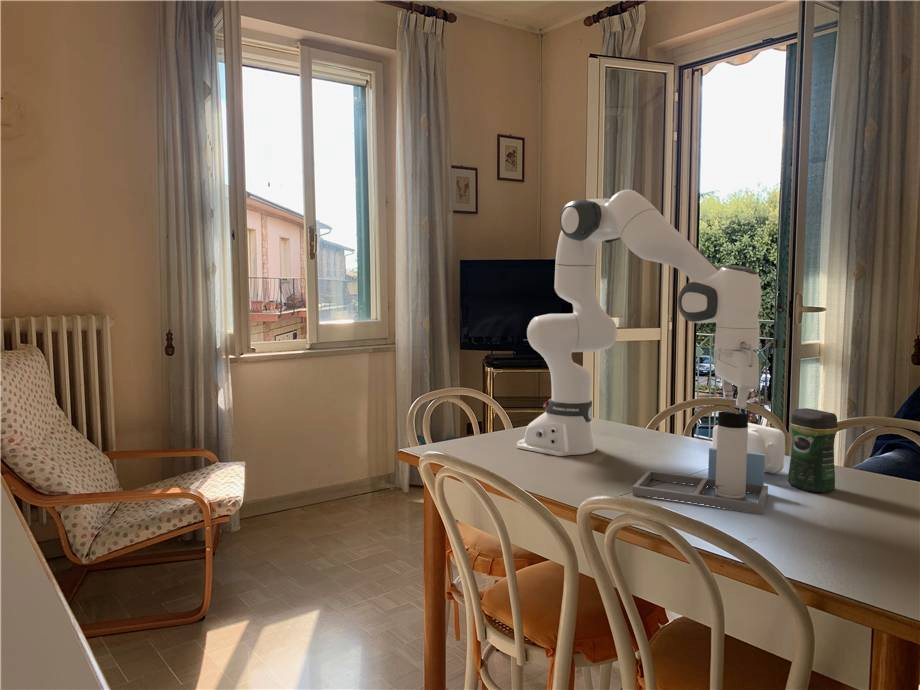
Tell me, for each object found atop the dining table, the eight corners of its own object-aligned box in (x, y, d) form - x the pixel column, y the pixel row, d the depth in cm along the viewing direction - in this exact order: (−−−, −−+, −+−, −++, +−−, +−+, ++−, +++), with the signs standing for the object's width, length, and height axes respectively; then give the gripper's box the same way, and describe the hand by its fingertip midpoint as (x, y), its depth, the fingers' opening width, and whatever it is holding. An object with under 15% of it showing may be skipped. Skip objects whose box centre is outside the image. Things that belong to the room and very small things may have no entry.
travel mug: (712, 501, 152) (715, 411, 150) (717, 492, 158) (720, 406, 156) (742, 505, 149) (746, 414, 147) (747, 497, 155) (750, 409, 153)
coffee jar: (841, 491, 159) (845, 412, 158) (817, 495, 156) (821, 414, 154) (805, 480, 168) (808, 404, 166) (781, 484, 165) (785, 407, 163)
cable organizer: (708, 466, 180) (709, 422, 179) (736, 461, 185) (737, 418, 184) (756, 481, 167) (758, 434, 166) (785, 475, 172) (787, 429, 171)
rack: (632, 495, 157) (633, 456, 156) (649, 476, 171) (650, 441, 170) (761, 514, 144) (763, 472, 143) (768, 493, 158) (769, 454, 157)
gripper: (768, 345, 140) (765, 412, 141) (737, 336, 160) (735, 395, 161) (736, 345, 140) (733, 412, 142) (709, 336, 160) (707, 394, 162)
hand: (734, 403), depth 152 cm, fingers open, 8 cm apart
